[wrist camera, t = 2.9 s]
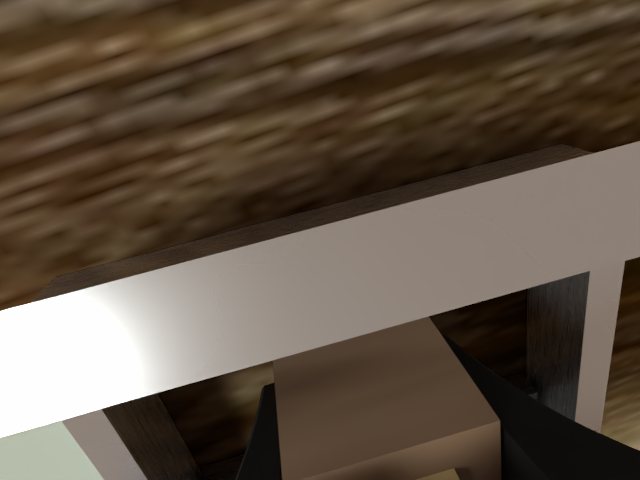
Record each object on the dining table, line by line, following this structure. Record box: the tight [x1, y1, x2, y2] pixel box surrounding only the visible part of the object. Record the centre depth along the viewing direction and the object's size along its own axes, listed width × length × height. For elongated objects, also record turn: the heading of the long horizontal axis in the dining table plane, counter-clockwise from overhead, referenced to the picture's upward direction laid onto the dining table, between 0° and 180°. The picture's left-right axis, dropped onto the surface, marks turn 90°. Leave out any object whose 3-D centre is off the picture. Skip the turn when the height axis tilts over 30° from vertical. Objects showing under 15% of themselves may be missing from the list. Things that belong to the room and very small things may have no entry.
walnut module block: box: [273, 316, 501, 480], centre depth 11 cm, size 4×4×6 cm
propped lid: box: [0, 141, 640, 437], centre depth 7 cm, size 5×16×8 cm, turn 102°
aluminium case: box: [31, 144, 625, 480], centre depth 13 cm, size 11×15×3 cm
